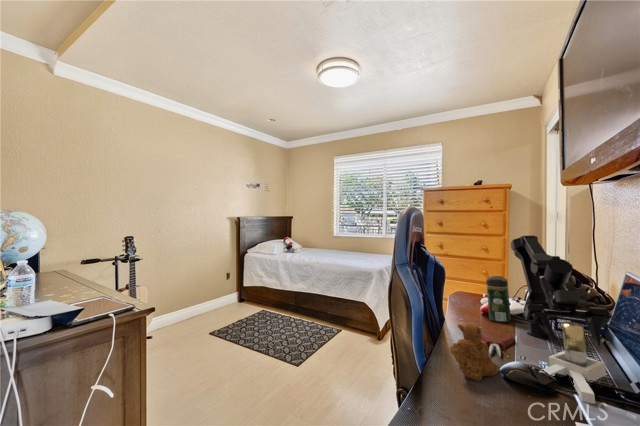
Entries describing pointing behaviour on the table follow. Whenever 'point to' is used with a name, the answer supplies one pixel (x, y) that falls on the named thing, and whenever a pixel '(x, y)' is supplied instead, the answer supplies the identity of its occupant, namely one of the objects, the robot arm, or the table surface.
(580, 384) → the socket
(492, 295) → the coffee jar
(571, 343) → the coupler
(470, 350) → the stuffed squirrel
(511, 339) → the pliers
